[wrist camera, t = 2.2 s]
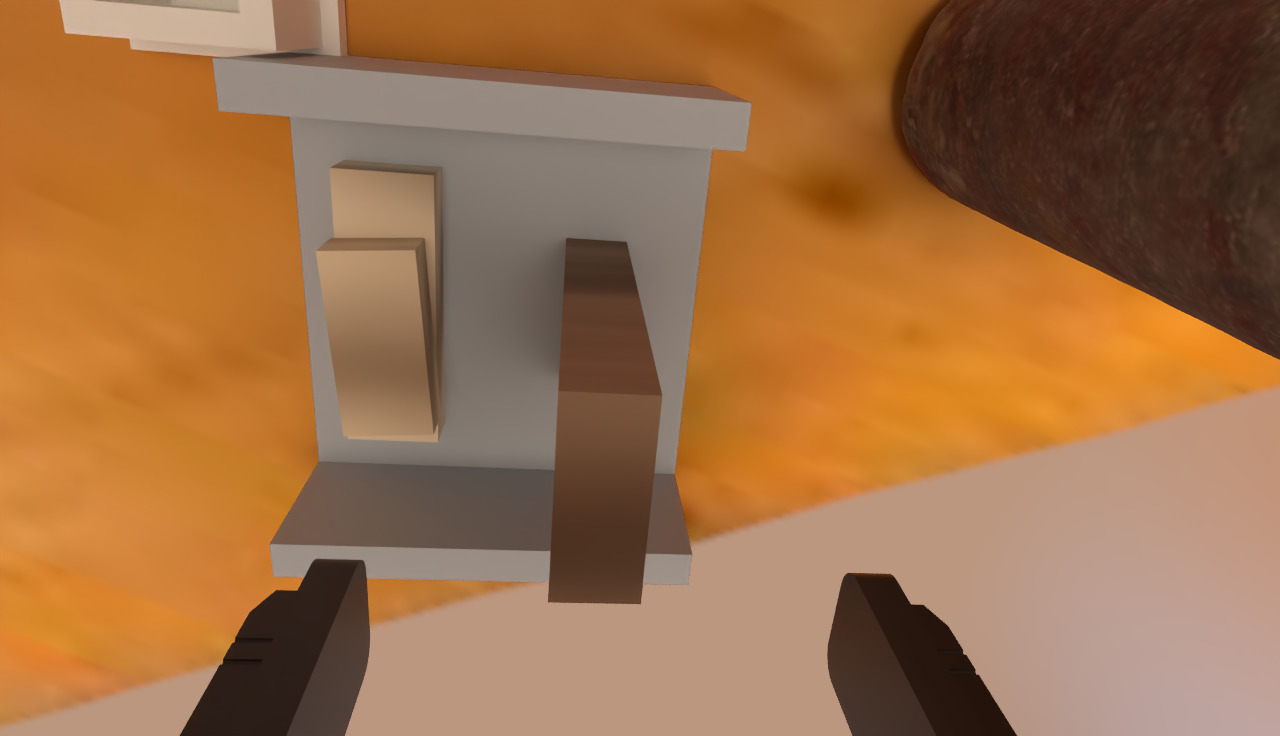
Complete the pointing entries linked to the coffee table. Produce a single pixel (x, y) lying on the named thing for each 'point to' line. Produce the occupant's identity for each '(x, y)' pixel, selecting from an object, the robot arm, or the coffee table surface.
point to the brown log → (1117, 140)
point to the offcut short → (380, 335)
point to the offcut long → (396, 233)
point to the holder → (214, 25)
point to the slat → (603, 430)
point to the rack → (492, 291)
